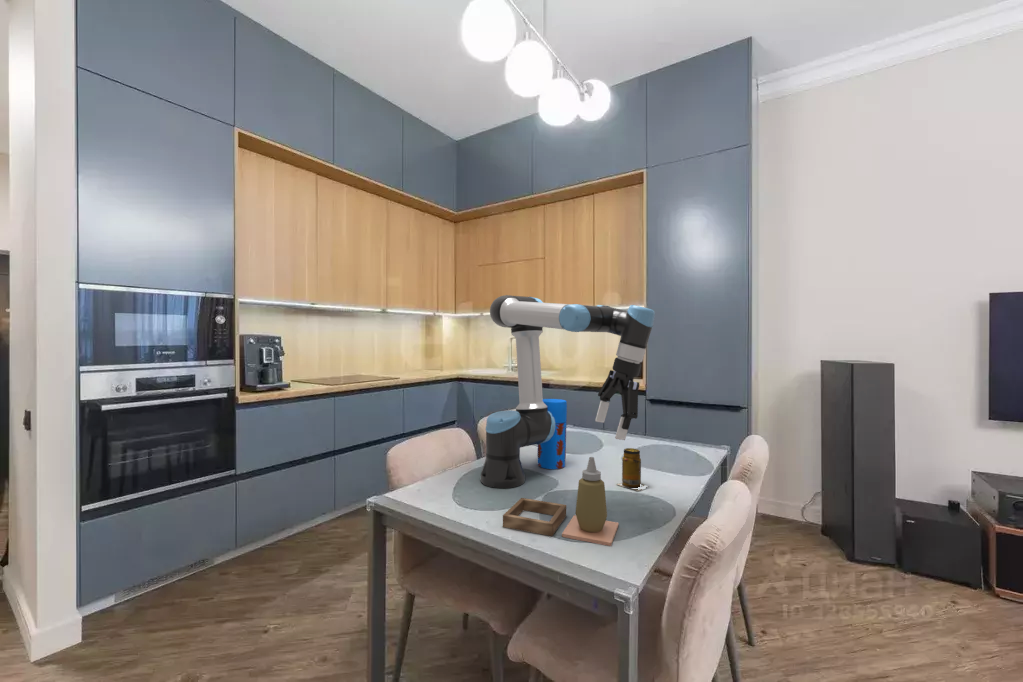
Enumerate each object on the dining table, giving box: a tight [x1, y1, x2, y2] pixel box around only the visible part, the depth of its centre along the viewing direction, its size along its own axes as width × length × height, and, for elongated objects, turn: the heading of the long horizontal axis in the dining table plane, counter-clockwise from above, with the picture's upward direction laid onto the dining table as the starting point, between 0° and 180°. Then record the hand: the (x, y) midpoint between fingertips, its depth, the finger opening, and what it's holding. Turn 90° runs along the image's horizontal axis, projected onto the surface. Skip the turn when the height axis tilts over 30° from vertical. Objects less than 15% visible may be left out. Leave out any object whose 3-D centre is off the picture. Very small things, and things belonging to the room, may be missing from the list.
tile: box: [561, 514, 620, 547], centre depth 109 cm, size 12×12×1 cm
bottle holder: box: [502, 497, 567, 537], centre depth 115 cm, size 13×13×3 cm
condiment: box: [616, 447, 643, 492], centre depth 143 cm, size 7×8×12 cm
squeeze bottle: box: [574, 456, 608, 532], centre depth 109 cm, size 8×8×18 cm
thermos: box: [537, 398, 568, 470], centre depth 165 cm, size 11×11×25 cm
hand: (609, 430), depth 124 cm, fingers open, 13 cm apart
